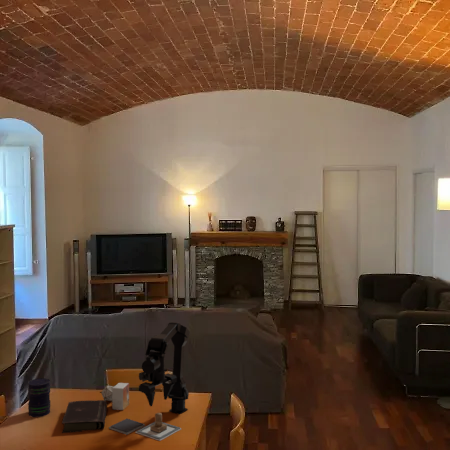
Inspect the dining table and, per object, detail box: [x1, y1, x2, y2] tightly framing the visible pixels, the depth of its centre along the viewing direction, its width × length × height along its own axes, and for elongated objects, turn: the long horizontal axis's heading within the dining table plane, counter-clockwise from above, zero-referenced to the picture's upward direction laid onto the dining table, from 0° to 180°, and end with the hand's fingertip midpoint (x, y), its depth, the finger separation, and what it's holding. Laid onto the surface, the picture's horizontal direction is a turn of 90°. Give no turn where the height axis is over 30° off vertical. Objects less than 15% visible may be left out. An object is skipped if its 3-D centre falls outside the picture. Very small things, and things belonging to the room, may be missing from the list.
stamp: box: [150, 412, 167, 433], centre depth 227 cm, size 5×5×7 cm
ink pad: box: [108, 418, 146, 435], centre depth 231 cm, size 11×11×1 cm
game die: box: [99, 384, 117, 402], centre depth 262 cm, size 9×8×10 cm
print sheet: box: [134, 421, 182, 441], centre depth 228 cm, size 14×14×1 cm
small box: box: [111, 382, 130, 411], centre depth 254 cm, size 8×6×10 cm
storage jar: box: [27, 377, 52, 418], centre depth 247 cm, size 10×10×15 cm
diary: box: [61, 399, 108, 434], centre depth 239 cm, size 19×25×5 cm
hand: (158, 402), depth 227 cm, fingers open, 9 cm apart
